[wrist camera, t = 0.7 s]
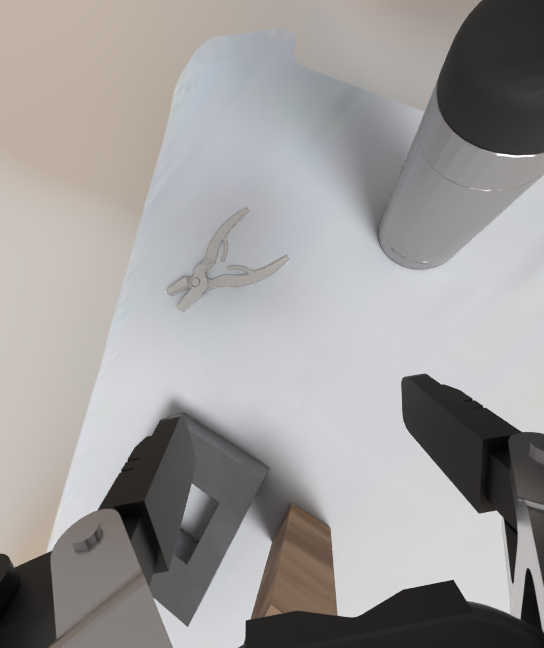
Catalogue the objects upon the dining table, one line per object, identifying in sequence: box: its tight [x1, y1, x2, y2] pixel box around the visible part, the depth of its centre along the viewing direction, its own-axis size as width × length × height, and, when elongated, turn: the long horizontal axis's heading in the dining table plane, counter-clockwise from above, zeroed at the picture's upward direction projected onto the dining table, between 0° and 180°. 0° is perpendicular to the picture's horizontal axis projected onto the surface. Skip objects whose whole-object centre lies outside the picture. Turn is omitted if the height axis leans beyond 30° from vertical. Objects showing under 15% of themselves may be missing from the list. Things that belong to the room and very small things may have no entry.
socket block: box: [149, 412, 269, 627], centre depth 30 cm, size 15×12×4 cm
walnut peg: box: [244, 503, 337, 644], centre depth 23 cm, size 4×4×14 cm
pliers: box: [166, 207, 289, 312], centre depth 36 cm, size 10×2×15 cm
